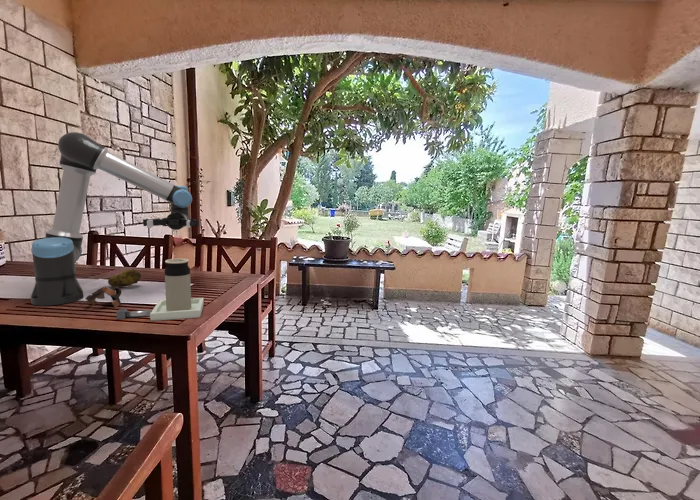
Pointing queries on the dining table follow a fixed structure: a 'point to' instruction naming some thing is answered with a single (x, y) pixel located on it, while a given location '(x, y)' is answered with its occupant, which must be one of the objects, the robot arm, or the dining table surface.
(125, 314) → the metal bolt
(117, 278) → the olive green oval lump
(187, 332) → the dining table surface
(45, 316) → the dining table surface
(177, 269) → the travel mug
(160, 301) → the tray
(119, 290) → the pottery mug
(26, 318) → the dining table surface
